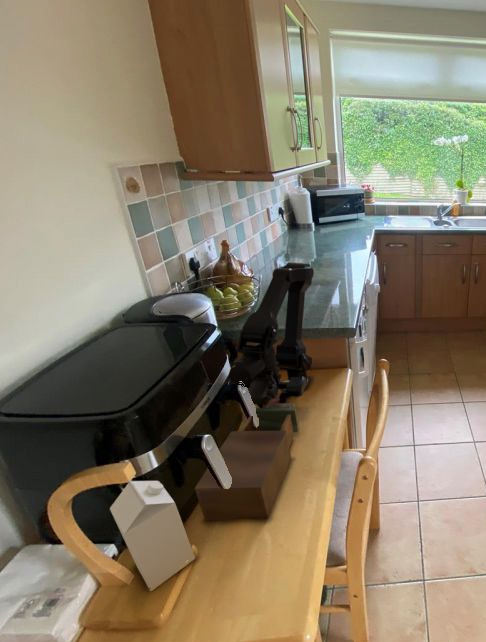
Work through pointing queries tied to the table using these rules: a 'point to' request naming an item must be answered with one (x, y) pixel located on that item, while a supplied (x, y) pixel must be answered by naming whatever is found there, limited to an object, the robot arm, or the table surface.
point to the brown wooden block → (247, 476)
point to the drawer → (275, 419)
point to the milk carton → (152, 531)
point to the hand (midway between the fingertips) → (274, 411)
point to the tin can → (274, 400)
